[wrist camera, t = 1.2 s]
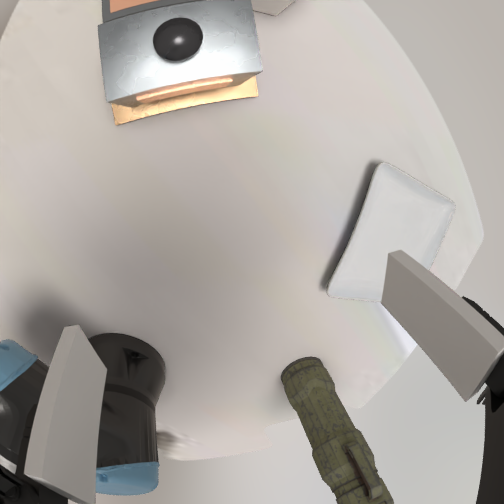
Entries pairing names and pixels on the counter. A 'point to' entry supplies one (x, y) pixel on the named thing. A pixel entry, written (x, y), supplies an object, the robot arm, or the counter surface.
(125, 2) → the mat
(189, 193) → the counter surface
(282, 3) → the jar
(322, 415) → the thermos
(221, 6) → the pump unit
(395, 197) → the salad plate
